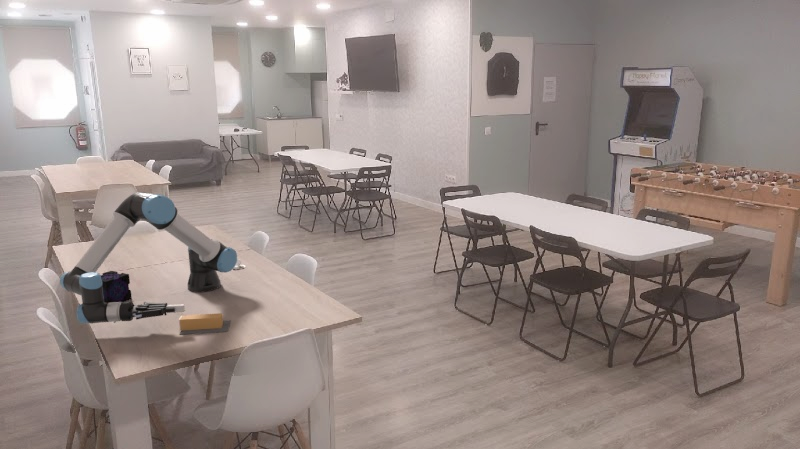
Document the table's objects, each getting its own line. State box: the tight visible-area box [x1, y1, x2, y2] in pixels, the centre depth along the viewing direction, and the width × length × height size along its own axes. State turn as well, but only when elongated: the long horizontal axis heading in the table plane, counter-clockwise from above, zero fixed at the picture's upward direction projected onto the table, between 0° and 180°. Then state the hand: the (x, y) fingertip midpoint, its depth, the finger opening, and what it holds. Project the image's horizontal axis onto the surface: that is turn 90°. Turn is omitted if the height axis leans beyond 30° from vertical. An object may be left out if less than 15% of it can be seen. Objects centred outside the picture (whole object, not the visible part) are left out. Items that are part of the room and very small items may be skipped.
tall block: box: [178, 312, 224, 332], centre depth 240 cm, size 4×4×16 cm
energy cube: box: [100, 270, 133, 303], centre depth 270 cm, size 12×12×12 cm
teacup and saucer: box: [232, 259, 247, 270], centre depth 321 cm, size 9×8×4 cm
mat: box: [179, 319, 232, 335], centre depth 240 cm, size 18×11×1 cm, turn 98°
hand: (184, 308), depth 237 cm, fingers closed
